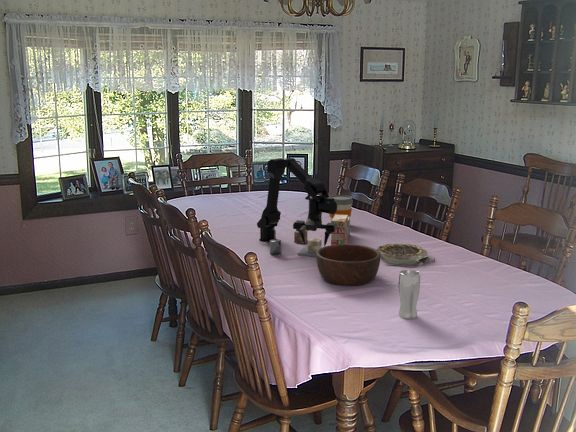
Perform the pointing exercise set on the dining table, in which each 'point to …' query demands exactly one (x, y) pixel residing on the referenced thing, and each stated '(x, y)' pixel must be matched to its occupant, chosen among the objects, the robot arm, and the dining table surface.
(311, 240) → the ash block
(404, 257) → the pie
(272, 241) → the dark metal cylinder
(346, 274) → the wooden bowl
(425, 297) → the dining table surface
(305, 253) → the slate mat
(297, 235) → the rectangular block
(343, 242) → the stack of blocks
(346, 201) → the reusable coffee cup
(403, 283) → the beer glass
